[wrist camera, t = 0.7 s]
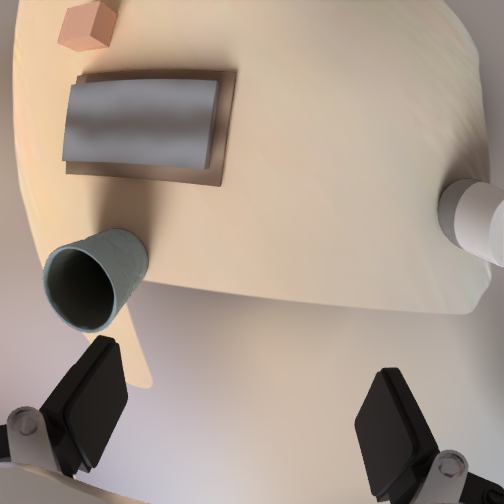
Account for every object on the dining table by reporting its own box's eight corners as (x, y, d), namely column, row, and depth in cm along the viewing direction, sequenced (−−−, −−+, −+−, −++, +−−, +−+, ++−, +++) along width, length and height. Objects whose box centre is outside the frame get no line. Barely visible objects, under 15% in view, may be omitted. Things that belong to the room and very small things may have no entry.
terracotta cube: (86, 20, 29) (67, 8, 24) (117, 14, 29) (100, 0, 24) (78, 52, 30) (57, 42, 25) (109, 47, 31) (89, 35, 25)
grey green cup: (102, 293, 41) (61, 334, 30) (83, 228, 38) (30, 254, 27) (162, 285, 40) (129, 331, 29) (143, 213, 37) (98, 238, 26)
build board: (81, 77, 32) (65, 71, 28) (236, 74, 32) (233, 65, 28) (69, 173, 36) (53, 176, 32) (220, 186, 36) (215, 189, 32)
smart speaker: (452, 163, 34) (520, 172, 20) (487, 201, 35) (550, 223, 21) (420, 218, 36) (481, 249, 23) (458, 252, 37) (516, 290, 24)
